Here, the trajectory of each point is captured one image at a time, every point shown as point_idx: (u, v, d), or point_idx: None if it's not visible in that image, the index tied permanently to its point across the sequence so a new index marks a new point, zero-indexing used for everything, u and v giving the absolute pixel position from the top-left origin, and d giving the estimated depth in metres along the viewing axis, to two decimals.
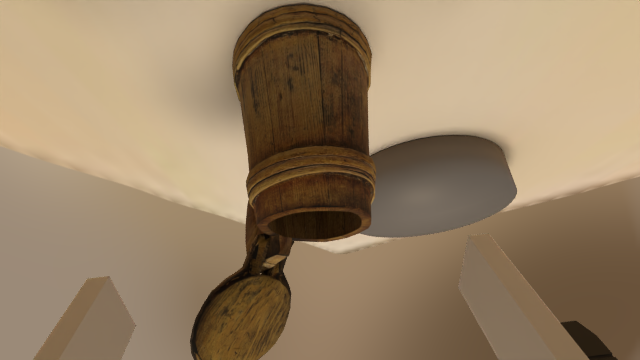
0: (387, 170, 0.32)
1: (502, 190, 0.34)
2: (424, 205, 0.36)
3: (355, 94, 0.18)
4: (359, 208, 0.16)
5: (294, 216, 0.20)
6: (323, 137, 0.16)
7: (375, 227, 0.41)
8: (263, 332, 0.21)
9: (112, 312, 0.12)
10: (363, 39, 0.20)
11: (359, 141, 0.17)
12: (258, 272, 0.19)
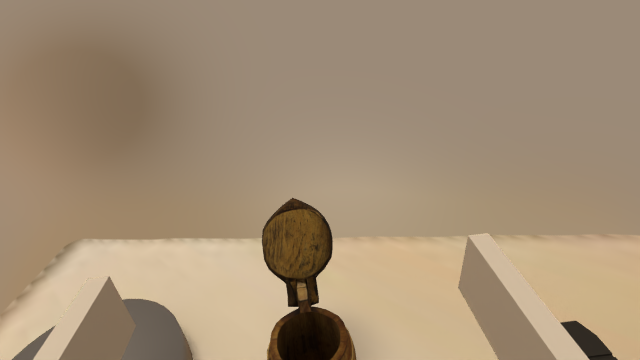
0: None
1: None
2: None
3: None
4: None
5: (299, 324, 0.28)
6: None
7: None
8: (279, 237, 0.29)
9: (112, 312, 0.12)
10: None
11: None
12: (308, 279, 0.29)
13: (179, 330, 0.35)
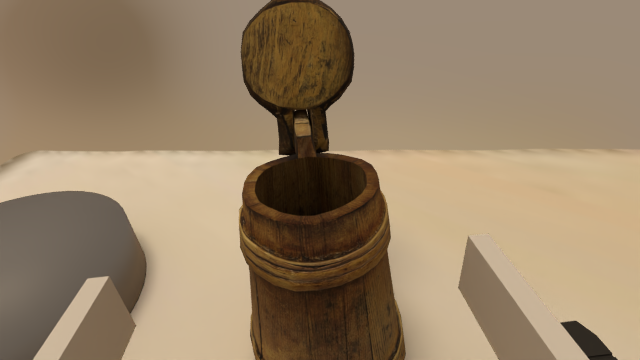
0: None
1: None
2: None
3: (324, 347, 0.15)
4: (313, 224, 0.12)
5: (295, 181, 0.18)
6: (364, 279, 0.14)
7: (49, 208, 0.27)
8: (268, 45, 0.18)
9: (112, 312, 0.12)
10: None
11: (314, 300, 0.14)
12: (313, 110, 0.18)
13: (125, 222, 0.25)
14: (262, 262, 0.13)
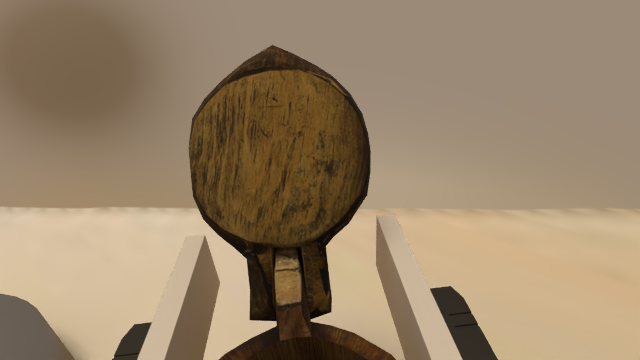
0: None
1: None
2: None
3: None
4: None
5: None
6: None
7: None
8: (232, 138, 0.11)
9: (207, 266, 0.14)
10: None
11: None
12: (305, 249, 0.11)
13: (45, 358, 0.18)
14: None
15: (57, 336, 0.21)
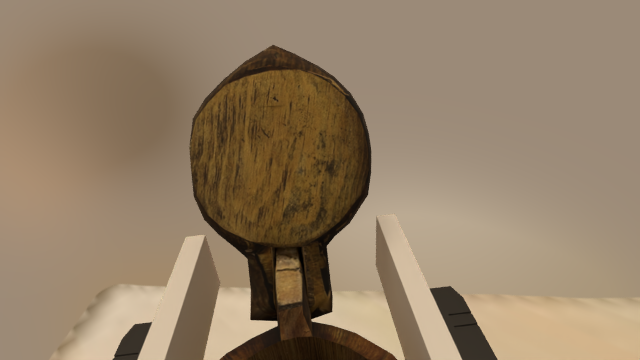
0: None
1: None
2: None
3: None
4: None
5: None
6: None
7: None
8: (233, 138, 0.11)
9: (208, 266, 0.14)
10: None
11: None
12: (306, 248, 0.11)
13: None
14: None
15: None
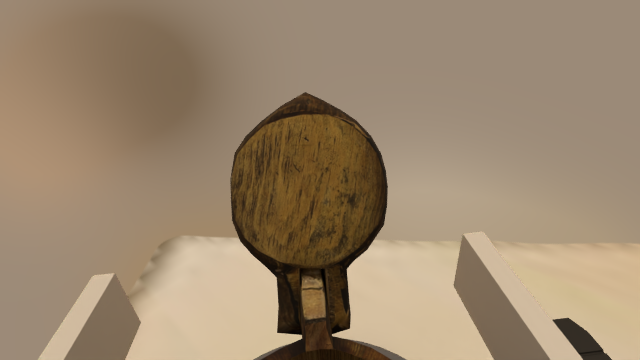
0: None
1: None
2: None
3: None
4: None
5: None
6: None
7: None
8: (269, 171, 0.13)
9: (118, 309, 0.12)
10: None
11: None
12: (329, 270, 0.12)
13: None
14: None
15: None
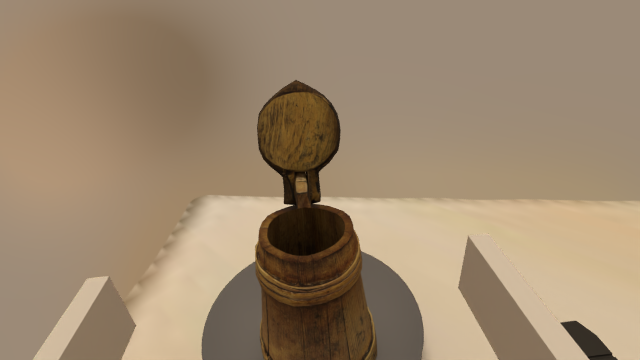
0: None
1: None
2: None
3: (314, 346, 0.21)
4: (306, 262, 0.18)
5: (295, 224, 0.24)
6: (342, 298, 0.20)
7: None
8: (277, 123, 0.24)
9: (112, 312, 0.12)
10: None
11: (306, 313, 0.20)
12: (309, 172, 0.24)
13: (395, 274, 0.32)
14: (271, 286, 0.20)
15: None
